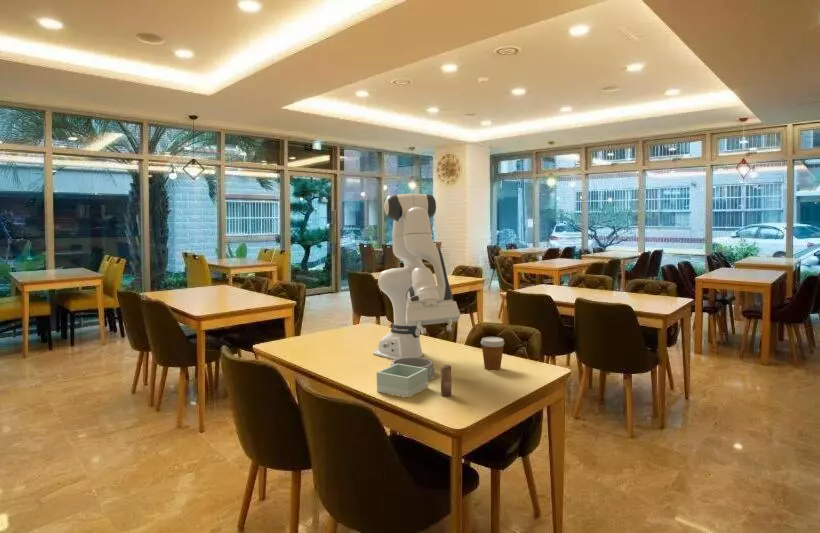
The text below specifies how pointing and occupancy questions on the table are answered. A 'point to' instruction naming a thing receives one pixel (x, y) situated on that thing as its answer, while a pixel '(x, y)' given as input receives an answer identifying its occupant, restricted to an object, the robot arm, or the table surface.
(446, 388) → the peg
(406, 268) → the robot arm
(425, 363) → the dog bowl
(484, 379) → the table surface
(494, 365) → the disposable coffee cup
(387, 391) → the socket box
